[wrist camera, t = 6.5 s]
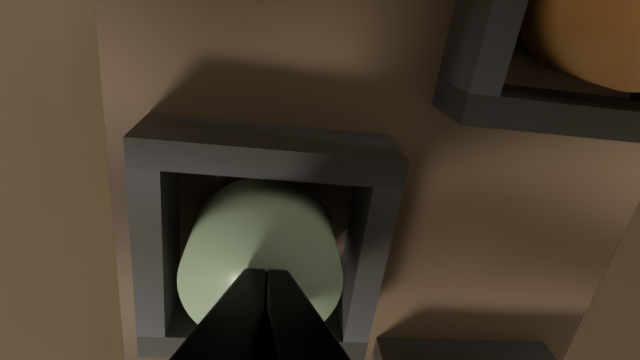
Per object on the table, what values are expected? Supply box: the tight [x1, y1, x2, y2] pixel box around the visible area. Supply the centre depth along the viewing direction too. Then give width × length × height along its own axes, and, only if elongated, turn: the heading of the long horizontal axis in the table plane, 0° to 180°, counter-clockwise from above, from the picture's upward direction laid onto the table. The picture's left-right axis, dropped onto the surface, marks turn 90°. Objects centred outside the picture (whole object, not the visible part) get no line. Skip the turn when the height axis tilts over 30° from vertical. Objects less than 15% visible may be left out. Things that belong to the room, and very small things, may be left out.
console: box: [94, 0, 640, 360], centre depth 11 cm, size 20×13×4 cm, turn 173°
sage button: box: [177, 178, 343, 324], centre depth 9 cm, size 3×3×2 cm
